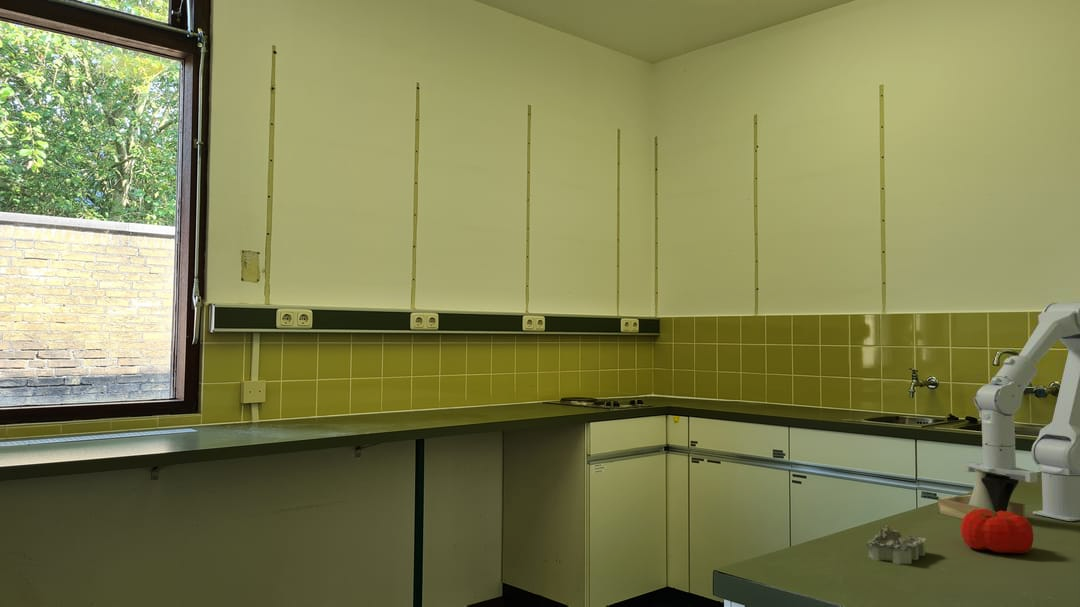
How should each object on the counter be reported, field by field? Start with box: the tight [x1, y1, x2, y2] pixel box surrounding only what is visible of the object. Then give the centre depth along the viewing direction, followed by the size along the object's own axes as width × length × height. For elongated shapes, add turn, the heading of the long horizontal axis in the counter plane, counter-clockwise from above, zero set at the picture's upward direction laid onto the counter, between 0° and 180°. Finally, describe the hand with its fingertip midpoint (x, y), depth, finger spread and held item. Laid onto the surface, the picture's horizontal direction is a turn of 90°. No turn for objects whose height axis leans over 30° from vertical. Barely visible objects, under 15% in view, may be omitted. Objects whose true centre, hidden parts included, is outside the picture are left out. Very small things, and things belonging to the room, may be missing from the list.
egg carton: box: [865, 525, 927, 565], centre depth 135 cm, size 11×8×4 cm
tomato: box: [960, 509, 1035, 555], centre depth 138 cm, size 10×11×6 cm
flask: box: [969, 468, 995, 512], centre depth 164 cm, size 7×7×10 cm
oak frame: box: [937, 494, 1026, 520], centre depth 164 cm, size 11×11×3 cm
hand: (1000, 513), depth 160 cm, fingers closed, pressing on flask
